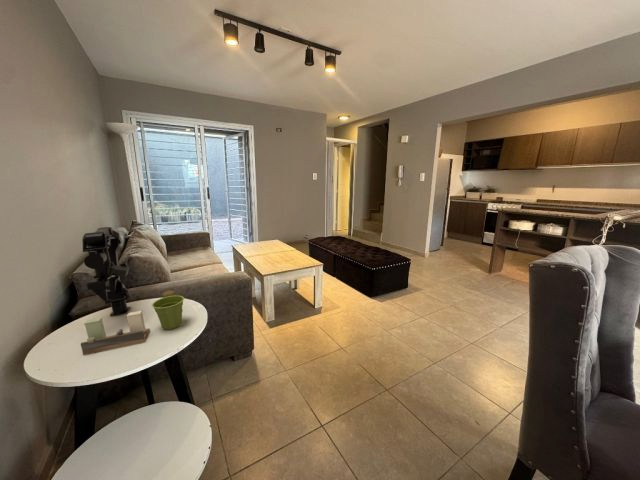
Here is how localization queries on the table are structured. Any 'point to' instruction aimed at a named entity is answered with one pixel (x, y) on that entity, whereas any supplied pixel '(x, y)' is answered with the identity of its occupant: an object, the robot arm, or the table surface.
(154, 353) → the table surface
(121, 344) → the brown wooden rack
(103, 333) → the pale green tall block
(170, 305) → the plant pot
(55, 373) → the table surface
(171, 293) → the cork
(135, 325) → the beige rectangular block
